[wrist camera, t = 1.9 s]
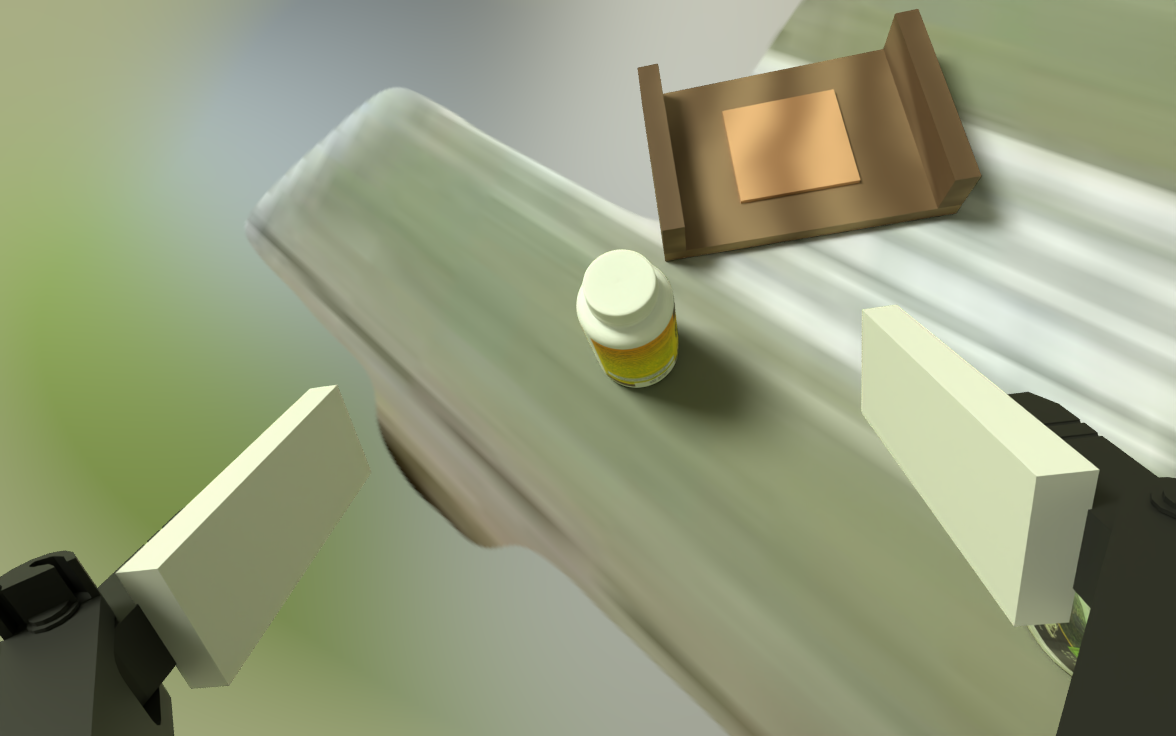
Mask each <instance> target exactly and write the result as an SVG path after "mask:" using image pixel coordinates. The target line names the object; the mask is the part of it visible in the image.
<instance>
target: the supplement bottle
mask: <svg viewBox="0 0 1176 736" xmlns="http://www.w3.org/2000/svg"><path fill="white" fill-rule="evenodd" d="M577 315H578V319H579V322H580V324H581V327H582V329H583V331H584V333H585V335H586V337H587V339H588V341H589V344H590V346H591V348H592V350H593V352H594V354H595V356H596V358H597V360H598V362H599V364H600V366H601V368H602V369H603V371H604V372H605V374H606V375H607V376H608V377H609V378H611V379H612V380H613V381H615V382H617V383H619V384H621V385H624V386H627V387H634V388H640V387H646V386H650V385H652V384H655V383H657V382H659V381H660V380H662V379H663V378H664V377H665V376H666V375H667V374H668V373H669V372H670V371H671V370H672V368H673V367H674V365H675V363H676V360H677V357H678V352H679V341H678V332H677V322H676V314H675V303H674V296H673V291H672V287H671V285H670V283H669V281H668V279H667V278H666V276H665V275H664V274H663V273H662V272H661V271H660V270H659V269H658V268H657V267H655V266H654V265H652V264H651V263H650V262H649V261H648V260H647V259H646V258H645V257H644V256H643V255H641V254H639V253H637V252H634V251H631V250H614V251H610V252H607V253H605V254H603V255H601V256H599V257H598V258H597V259H595V260H594V261H593V262H592V263H591V265H590V266H589V267H588V269H587V271H586V273H585V275H584V279H583V284H582V286H581V288H580V290H579V293H578V297H577Z"/></svg>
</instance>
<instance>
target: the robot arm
mask: <svg viewBox="0 0 1176 736" xmlns="http://www.w3.org/2000/svg"><path fill="white" fill-rule="evenodd" d="M861 413H862V414H863V415H864V417H865V418H866V420H867V421H868V422H869V424H870V425H871V427H872V428H873V429H874V431H875V432H876V434H877V435H878V436H879V438H880V439H881V441H882V442H883V443H884V445H885V446H886V448H887V449H888V450H889V452H890V453H891V455H892V456H893V457H894V459H895V460H896V462H897V463H898V464H899V466H900V467H901V469H902V470H903V471H904V473H905V474H906V476H907V477H908V478H909V480H910V481H911V483H912V484H913V485H914V487H915V488H916V490H917V491H918V492H919V494H920V495H921V497H922V498H923V499H924V501H925V502H926V504H927V505H928V506H929V508H930V509H931V511H932V512H933V513H934V515H935V516H936V518H937V519H938V520H939V522H940V523H941V525H942V526H943V527H944V529H945V530H946V532H947V533H948V535H949V536H950V537H951V539H952V540H953V542H954V543H955V544H956V546H957V547H958V549H959V550H960V551H961V553H962V554H963V556H964V557H965V558H966V560H967V561H968V563H969V564H970V565H971V567H972V568H973V570H974V571H975V572H976V574H977V575H978V577H979V578H980V579H981V581H982V582H983V584H984V585H985V586H986V588H987V589H988V591H989V592H990V593H991V595H992V596H993V598H994V599H995V600H996V602H997V603H998V605H999V606H1000V607H1001V609H1002V610H1003V612H1004V613H1005V614H1006V616H1007V617H1008V619H1009V620H1010V621H1011V623H1012V624H1013V626H1028V625H1041V624H1054V623H1067V622H1069V621H1070V616H1071V610H1072V605H1073V600H1074V595H1075V592H1076V593H1077V594H1078V595H1079V596H1080V597H1081V598H1082V600H1083V601H1084V602H1085V603H1086V604H1087V605H1088V606H1089V607H1090V613H1089V616H1088V620H1087V624H1086V627H1085V631H1084V635H1083V638H1082V642H1081V646H1080V649H1079V653H1078V657H1077V660H1076V664H1075V668H1074V671H1073V675H1072V679H1071V683H1070V686H1069V690H1068V694H1067V697H1066V701H1065V705H1064V708H1063V712H1062V716H1061V719H1060V723H1059V727H1058V730H1057V734H1056V736H1176V478H1169V477H1160V478H1159V477H1157V476H1156V475H1154V474H1153V473H1152V472H1150V471H1149V470H1148V469H1146V468H1145V467H1144V466H1142V465H1141V464H1140V463H1138V462H1137V461H1135V460H1134V459H1133V458H1131V457H1130V456H1129V455H1127V454H1126V453H1125V452H1123V451H1122V450H1121V449H1119V448H1118V447H1117V446H1115V445H1114V444H1112V443H1111V442H1110V441H1108V440H1107V439H1106V438H1104V437H1103V436H1098V432H1096V431H1095V430H1093V429H1092V428H1091V427H1089V426H1088V425H1087V424H1085V423H1081V422H1080V419H1079V418H1077V417H1076V416H1074V415H1073V414H1072V413H1070V412H1069V411H1068V410H1066V409H1065V408H1064V407H1062V406H1061V405H1060V404H1058V403H1055V402H1053V401H1050V400H1048V399H1045V398H1043V397H1040V396H1037V395H1035V394H1032V393H1030V392H1024V393H1016V394H1006V393H1005V392H1003V391H1002V390H1001V389H1000V388H998V387H997V386H996V385H995V384H994V383H992V382H991V381H990V380H989V379H987V378H986V377H985V376H984V375H982V374H981V373H980V372H979V371H978V370H976V369H975V368H974V367H973V366H971V365H970V364H969V363H968V362H966V361H965V360H964V359H963V358H962V357H960V356H959V355H958V354H957V353H955V352H954V351H953V350H952V349H951V348H949V347H948V346H947V345H946V344H944V343H943V342H942V341H941V340H939V339H938V338H937V337H936V336H935V335H933V334H932V333H931V332H930V331H928V330H927V329H926V328H925V327H923V326H922V325H921V324H920V323H919V322H917V321H916V320H915V319H914V318H912V317H911V316H910V315H909V314H907V313H906V312H905V311H904V310H903V309H901V308H900V307H899V306H898V305H891V306H884V307H877V308H870V309H863V310H862V397H861ZM370 474H371V470H370V467H369V465H368V462H367V459H366V457H365V454H364V452H363V449H362V447H361V444H360V442H359V439H358V437H357V434H356V431H355V429H354V426H353V424H352V421H351V419H350V416H349V413H348V411H347V408H346V406H345V403H344V401H343V398H342V396H341V393H340V390H339V388H338V385H333V386H325V387H318V388H311V389H309V390H308V391H307V392H306V393H305V394H304V395H303V396H302V397H301V398H300V399H299V400H298V401H297V402H295V403H294V404H293V405H292V406H291V407H290V408H289V409H288V410H287V411H286V412H285V413H284V414H283V415H282V416H281V417H280V418H279V419H278V420H276V421H275V422H274V423H273V424H272V425H271V426H270V427H269V428H268V429H267V430H266V431H265V432H264V433H263V434H262V435H261V436H260V437H259V438H258V439H257V440H255V441H254V442H253V443H252V444H251V445H250V446H249V447H248V448H247V449H246V450H245V451H244V452H243V453H242V454H241V455H240V456H238V458H237V459H235V460H234V461H233V462H232V463H231V464H230V465H229V466H228V467H227V468H226V469H225V470H224V471H223V472H222V473H221V474H220V475H218V476H217V477H216V478H215V479H214V480H213V481H212V482H211V483H210V484H209V485H208V486H207V487H206V488H205V489H204V490H203V491H202V492H201V493H199V494H198V495H197V496H196V497H195V498H194V499H193V500H192V501H191V502H190V503H189V504H188V505H187V506H186V507H184V508H182V509H181V510H180V511H179V512H178V513H177V514H175V516H173V517H172V518H171V519H170V520H169V521H168V522H167V523H166V524H165V525H164V526H163V527H162V530H159V531H157V533H155V534H154V535H153V536H152V537H151V538H150V539H149V540H148V541H147V542H148V543H147V544H145V545H143V546H142V547H140V548H139V549H138V550H137V551H136V552H135V553H134V554H133V555H132V556H131V557H130V558H129V559H128V560H127V561H126V562H125V563H124V564H122V566H120V567H119V568H118V569H117V570H116V571H115V572H114V573H113V574H112V575H111V576H110V577H109V578H108V579H107V580H106V581H104V582H103V583H102V584H101V585H100V586H99V587H98V588H97V587H96V585H95V584H94V582H93V581H92V579H91V578H90V576H89V575H88V573H87V572H86V571H85V569H84V567H83V566H82V564H81V563H80V562H79V560H78V559H77V557H76V556H75V554H74V553H73V552H70V551H59V552H53V553H49V554H46V555H43V556H41V557H38V558H35V559H32V560H30V561H28V562H26V563H24V564H22V565H20V566H18V567H16V568H14V569H12V570H10V571H9V572H7V573H6V574H4V575H3V576H1V577H0V636H1V637H2V638H3V640H4V641H1V642H0V736H174V730H173V716H172V704H171V697H170V695H169V693H168V692H167V690H166V689H165V687H164V686H163V684H162V682H163V681H164V679H165V678H166V677H167V676H168V674H169V673H170V672H171V671H172V669H173V668H174V667H175V665H176V667H177V668H178V670H179V671H180V673H181V674H182V676H183V677H184V679H185V680H186V682H187V684H188V685H189V687H190V688H191V689H193V688H206V687H218V686H229V685H230V683H231V682H232V681H233V679H234V677H235V676H236V674H237V673H238V672H239V670H240V669H241V667H242V666H243V664H244V662H245V661H246V660H247V658H248V657H249V655H250V654H251V652H252V650H253V649H254V648H255V646H256V645H257V643H258V642H259V640H260V639H261V637H262V636H263V634H264V633H265V631H266V630H267V628H268V627H269V625H270V624H271V622H272V621H273V619H274V617H275V616H276V615H277V613H278V612H279V610H280V609H281V607H282V606H283V604H284V603H285V601H286V600H287V598H288V597H289V595H290V593H291V592H292V590H293V589H294V588H295V586H296V585H297V583H298V582H299V580H300V579H301V577H302V576H303V574H304V573H305V571H306V570H307V568H308V567H309V565H310V563H311V562H312V561H313V559H314V558H315V556H316V555H317V553H318V552H319V550H320V549H321V547H322V546H323V544H324V543H325V541H326V540H327V538H328V536H329V535H330V534H331V532H332V531H333V529H334V527H335V526H336V525H337V523H338V522H339V520H340V519H341V517H342V516H343V514H344V513H345V511H346V510H347V508H348V507H349V505H350V504H351V502H352V501H353V499H354V498H355V496H356V495H357V493H358V492H359V490H360V489H361V487H362V485H363V484H364V483H365V481H366V480H367V478H368V477H369V475H370Z"/></svg>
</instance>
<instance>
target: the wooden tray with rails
mask: <svg viewBox="0 0 1176 736" xmlns="http://www.w3.org/2000/svg"><path fill="white" fill-rule="evenodd" d="M638 75H639V83H640V91H641V99H642V107H643V113H644V120H645V127H646V134H647V140H648V147H649V154H650V161H651V167H652V174H653V181H654V188H655V194H656V201H657V208H658V215H659V221H660V228H661V235H662V242H663V248H664V255H665V261H670V260H676V259H682V258H688V257H694V256H700V255H706V254H712V253H718V252H724V251H730V250H736V249H743V248H749V247H755V246H761V245H767V244H773V243H779V242H785V241H791V240H797V239H803V238H809V237H815V236H821V235H827V234H834V233H840V232H846V231H852V230H858V229H864V228H870V227H876V226H882V225H888V224H894V223H900V222H906V221H912V220H919V219H925V218H931V217H937V216H943V215H949V214H955V213H957V211H958V210H959V208H960V207H961V205H962V204H963V203H964V201H965V200H966V198H967V197H968V195H969V194H970V192H971V191H972V189H973V188H974V186H975V185H976V183H977V182H978V181H979V179H980V178H981V173H980V170H979V168H978V165H977V162H976V160H975V157H974V155H973V152H972V149H971V147H970V144H969V141H968V139H967V136H966V133H965V131H964V128H963V126H962V123H961V120H960V118H959V115H958V112H957V110H956V107H955V104H954V102H953V99H952V96H951V94H950V91H949V89H948V86H947V83H946V81H945V78H944V75H943V73H942V70H941V67H940V65H939V62H938V60H937V57H936V54H935V52H934V49H933V46H932V44H931V41H930V38H929V36H928V33H927V31H926V28H925V25H924V23H923V20H922V17H921V15H920V12H919V9H915V10H910V11H906V12H901V13H896V14H895V16H894V19H893V22H892V25H891V28H890V31H889V34H888V37H887V40H886V43H885V46H884V49H882V50H877V51H872V52H867V53H862V54H857V55H852V56H847V57H842V58H837V59H833V60H828V61H823V62H818V63H813V64H808V65H803V66H798V67H793V68H788V69H783V70H778V71H773V72H768V73H764V74H759V75H754V76H749V77H744V78H739V79H734V80H729V81H724V82H719V83H715V84H709V85H704V86H700V87H695V88H690V89H685V90H680V91H675V92H670V93H666V94H663V92H662V86H661V79H660V73H659V67H658V64H653V65H649V66H644V67H639V68H638Z"/></svg>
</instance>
